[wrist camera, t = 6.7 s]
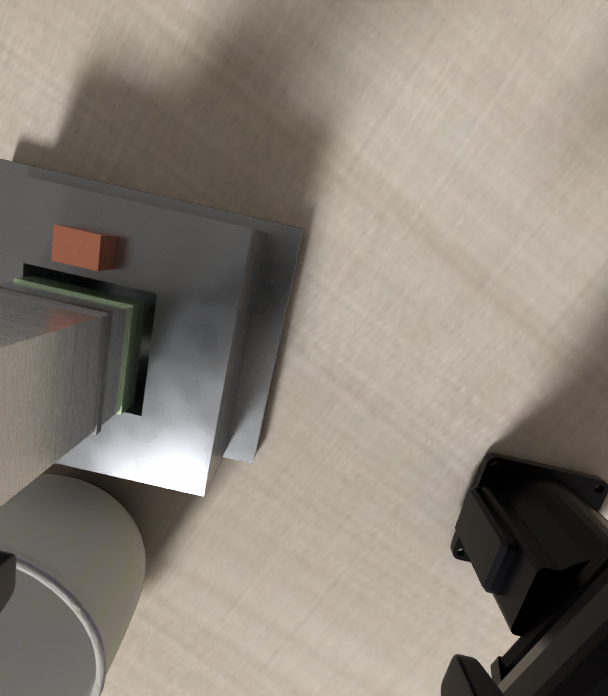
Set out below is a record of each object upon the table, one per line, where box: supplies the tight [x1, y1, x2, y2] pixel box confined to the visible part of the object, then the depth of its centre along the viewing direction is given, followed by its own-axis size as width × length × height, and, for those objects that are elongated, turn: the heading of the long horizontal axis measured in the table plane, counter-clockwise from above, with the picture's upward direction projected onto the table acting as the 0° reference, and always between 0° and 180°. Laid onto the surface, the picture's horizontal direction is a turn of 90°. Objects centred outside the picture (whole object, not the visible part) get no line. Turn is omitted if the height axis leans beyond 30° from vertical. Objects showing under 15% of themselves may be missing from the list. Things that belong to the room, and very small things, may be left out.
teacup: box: [0, 474, 146, 696], centre depth 20 cm, size 14×11×8 cm
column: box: [0, 276, 146, 507], centre depth 12 cm, size 4×4×7 cm
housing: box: [0, 159, 304, 496], centre depth 17 cm, size 14×12×6 cm
